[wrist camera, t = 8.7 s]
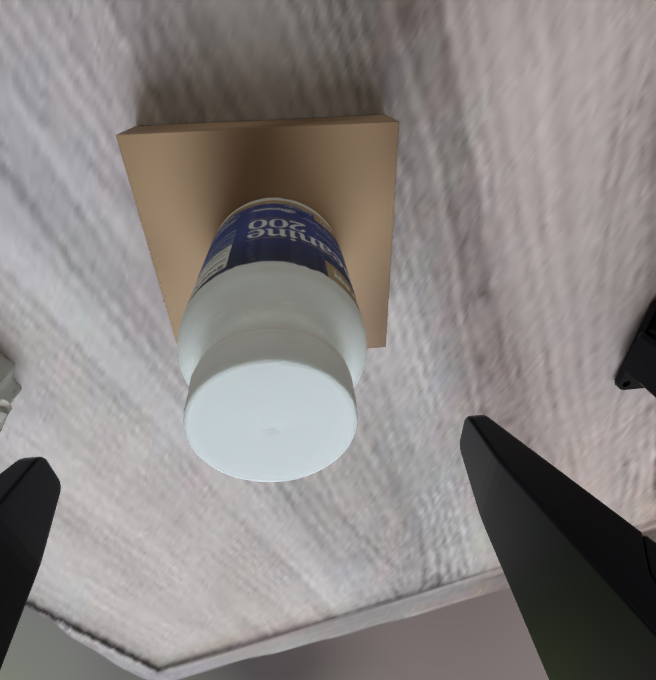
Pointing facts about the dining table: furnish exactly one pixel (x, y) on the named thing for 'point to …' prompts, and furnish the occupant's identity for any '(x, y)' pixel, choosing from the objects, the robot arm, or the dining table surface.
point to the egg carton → (7, 388)
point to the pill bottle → (272, 346)
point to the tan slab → (267, 194)
